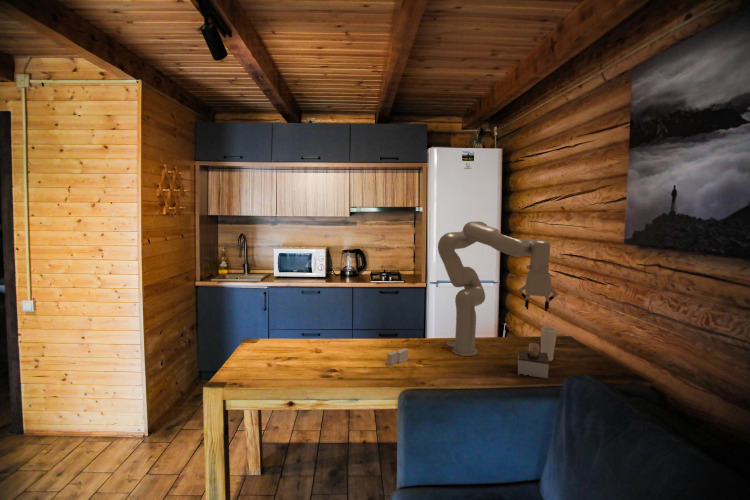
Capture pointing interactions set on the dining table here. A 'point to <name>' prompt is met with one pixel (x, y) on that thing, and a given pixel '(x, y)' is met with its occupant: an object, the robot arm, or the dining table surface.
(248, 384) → the dining table surface
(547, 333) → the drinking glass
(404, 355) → the grey grooved block
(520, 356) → the collar block
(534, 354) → the peg
